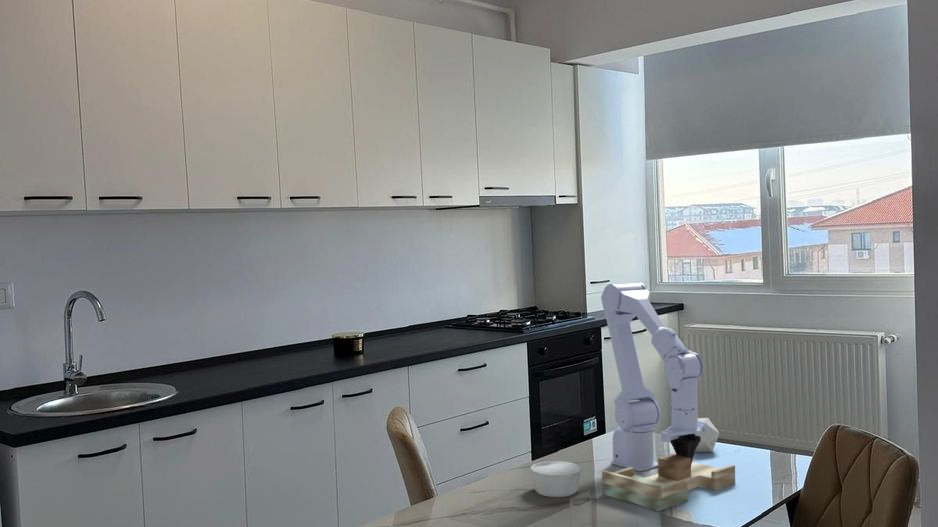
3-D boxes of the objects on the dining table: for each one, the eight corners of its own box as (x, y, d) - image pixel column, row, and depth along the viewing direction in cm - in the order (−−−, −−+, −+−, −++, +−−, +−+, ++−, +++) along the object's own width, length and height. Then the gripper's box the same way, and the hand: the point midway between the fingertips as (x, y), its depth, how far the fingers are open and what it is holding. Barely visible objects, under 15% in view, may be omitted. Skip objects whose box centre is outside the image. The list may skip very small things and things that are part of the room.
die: (712, 459, 204) (729, 424, 206) (679, 441, 205) (696, 406, 208) (702, 462, 212) (719, 428, 214) (671, 445, 213) (688, 411, 216)
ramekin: (552, 480, 188) (552, 457, 188) (592, 490, 180) (591, 466, 180) (520, 491, 180) (519, 468, 180) (559, 503, 172) (559, 478, 172)
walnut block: (658, 476, 181) (658, 458, 180) (672, 471, 184) (671, 453, 184) (677, 481, 177) (677, 462, 177) (691, 476, 180) (690, 458, 180)
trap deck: (602, 494, 177) (602, 471, 177) (679, 469, 194) (678, 448, 194) (658, 511, 165) (658, 487, 165) (735, 483, 182) (735, 461, 182)
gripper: (679, 415, 175) (680, 478, 175) (718, 405, 184) (719, 465, 184) (652, 410, 180) (653, 471, 181) (692, 400, 189) (692, 459, 190)
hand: (685, 468), depth 183 cm, fingers closed
